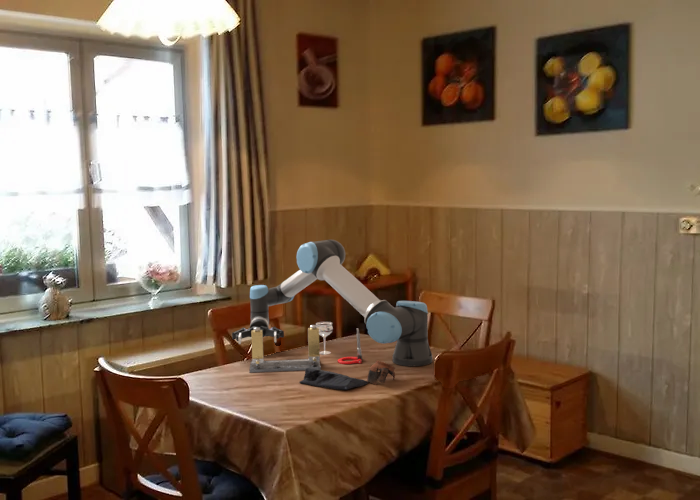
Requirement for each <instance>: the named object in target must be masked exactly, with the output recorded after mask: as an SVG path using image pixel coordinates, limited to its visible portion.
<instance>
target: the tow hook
mask: <svg viewBox="0 0 700 500" xmlns="http://www.w3.org/2000/svg"><path fill="white" fill-rule="evenodd" d="M360 336H361V335H360V329H359V328H356V342H357V343H356V347H357V348H356V352H357V356H344V357H343V356H342V357H340V358H339V359H337V363H338V364H340V365H351V364H362V361H363V354H362V348H361V337H360Z"/></svg>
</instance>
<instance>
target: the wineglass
mask: <svg viewBox="0 0 700 500" xmlns="http://www.w3.org/2000/svg"><path fill="white" fill-rule="evenodd" d="M315 325H317V328H319V336H321V338H323V350H322V351H319V352H320V355H329V354H331V353H332V352H331V351H330V350H329V351H328V350H326V338H327V337H328V336H330V335H331V334H332V333H333V330H334V328H333V322H331V321H319V322H316V323H315Z"/></svg>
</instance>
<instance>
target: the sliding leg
mask: <svg viewBox="0 0 700 500" xmlns="http://www.w3.org/2000/svg"><path fill="white" fill-rule="evenodd" d="M250 338H251V361H252V363H256V366H259V363H263V361H265V360H264V337H263V332H262V330H260V327H254V330H252V331H251V337H250Z"/></svg>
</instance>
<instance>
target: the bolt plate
mask: <svg viewBox="0 0 700 500" xmlns="http://www.w3.org/2000/svg"><path fill="white" fill-rule="evenodd" d="M307 342H308V343H307V345H308V350H307V351H308V358H300V359H297V358H296V359H295V358H294V359H280V360H279V359H278V360H277V359H275V360H273V359H272V360H263V363H259V366H256V363H252V360H251V361H250V362H249V363H250V364H249V373H272V372H275V373H276V372H295V371H297V372H298V371H305V370H306V368H313V369H319V370H321V363H320V361H321V359H320V358H321V356H320V355H321V354H320V352H321V351H320V335H319V328H317V325H316V324H310V326H309V327H308V328H307Z"/></svg>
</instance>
